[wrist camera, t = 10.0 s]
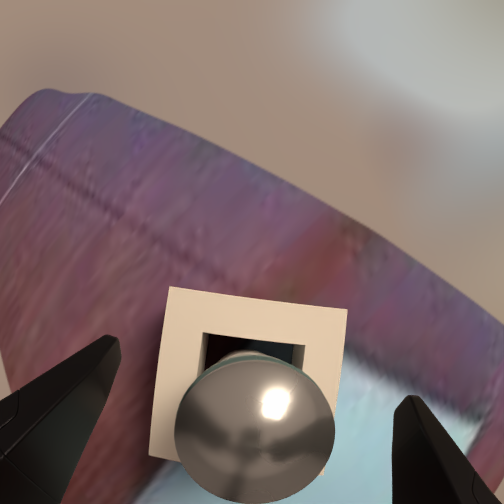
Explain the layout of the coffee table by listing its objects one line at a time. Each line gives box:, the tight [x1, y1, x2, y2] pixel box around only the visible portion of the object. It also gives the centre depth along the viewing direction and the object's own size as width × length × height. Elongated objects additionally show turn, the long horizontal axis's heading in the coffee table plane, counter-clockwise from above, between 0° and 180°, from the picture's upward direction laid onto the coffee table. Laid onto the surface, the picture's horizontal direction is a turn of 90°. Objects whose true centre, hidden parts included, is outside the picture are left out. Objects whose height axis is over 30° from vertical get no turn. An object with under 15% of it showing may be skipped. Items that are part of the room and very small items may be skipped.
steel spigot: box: [174, 349, 335, 504], centre depth 14 cm, size 5×5×13 cm
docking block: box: [149, 286, 347, 475], centre depth 18 cm, size 10×10×4 cm
